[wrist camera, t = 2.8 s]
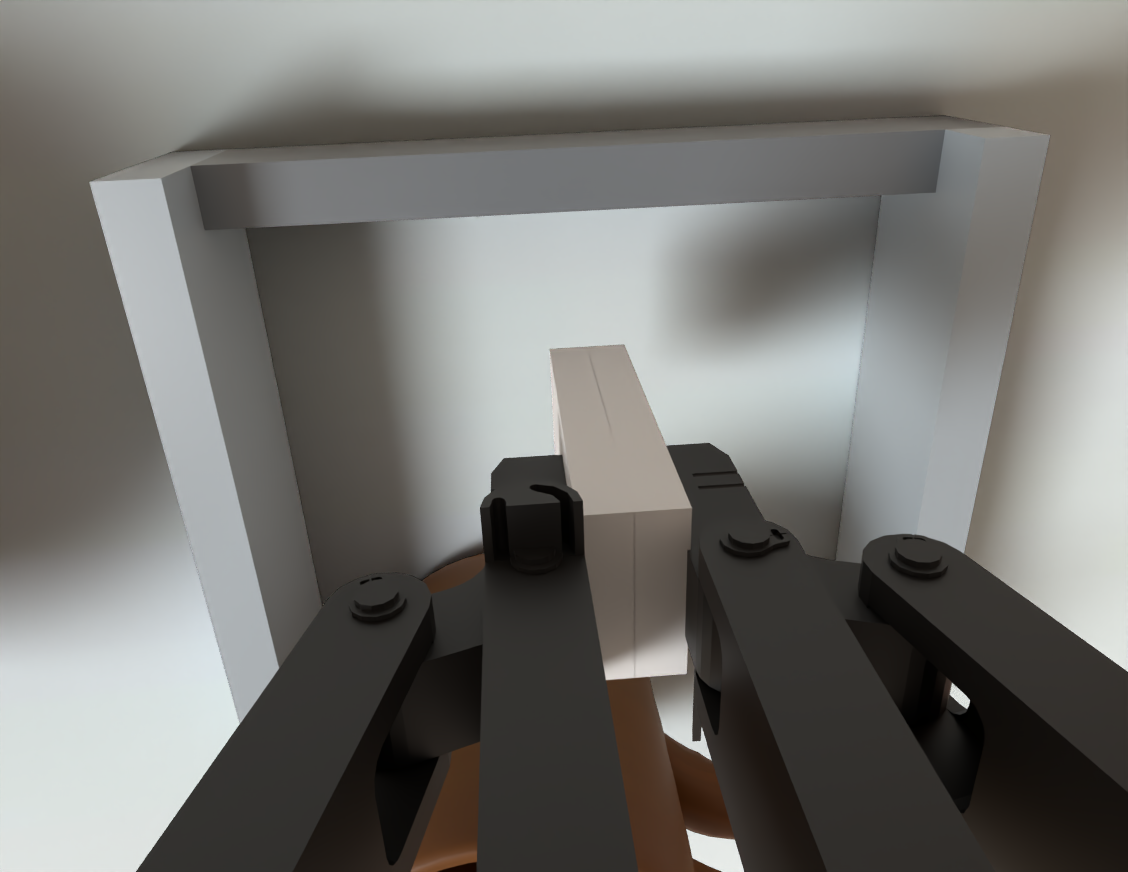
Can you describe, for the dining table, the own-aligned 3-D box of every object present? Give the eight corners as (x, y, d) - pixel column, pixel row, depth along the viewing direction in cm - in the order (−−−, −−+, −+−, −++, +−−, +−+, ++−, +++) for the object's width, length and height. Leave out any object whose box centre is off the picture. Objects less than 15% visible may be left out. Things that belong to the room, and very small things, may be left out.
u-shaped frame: (172, 151, 18) (89, 182, 14) (943, 115, 19) (1050, 135, 15) (309, 744, 25) (278, 862, 22) (855, 701, 26) (911, 807, 23)
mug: (813, 571, 24) (986, 867, 15) (742, 764, 27) (853, 1097, 19) (390, 523, 22) (322, 824, 14) (367, 734, 25) (301, 1085, 17)
